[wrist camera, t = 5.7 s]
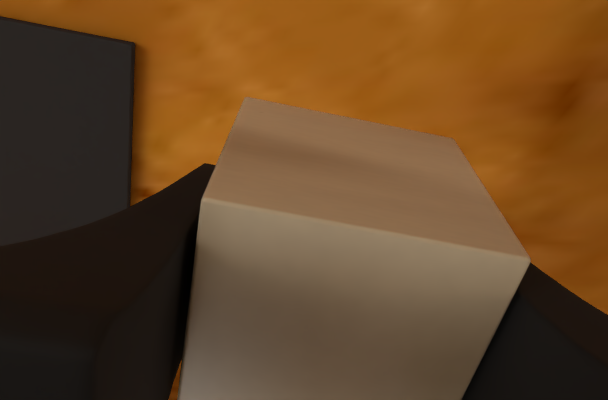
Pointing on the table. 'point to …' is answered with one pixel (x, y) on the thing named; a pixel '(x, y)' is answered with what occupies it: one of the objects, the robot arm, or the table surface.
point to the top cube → (343, 264)
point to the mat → (62, 128)
